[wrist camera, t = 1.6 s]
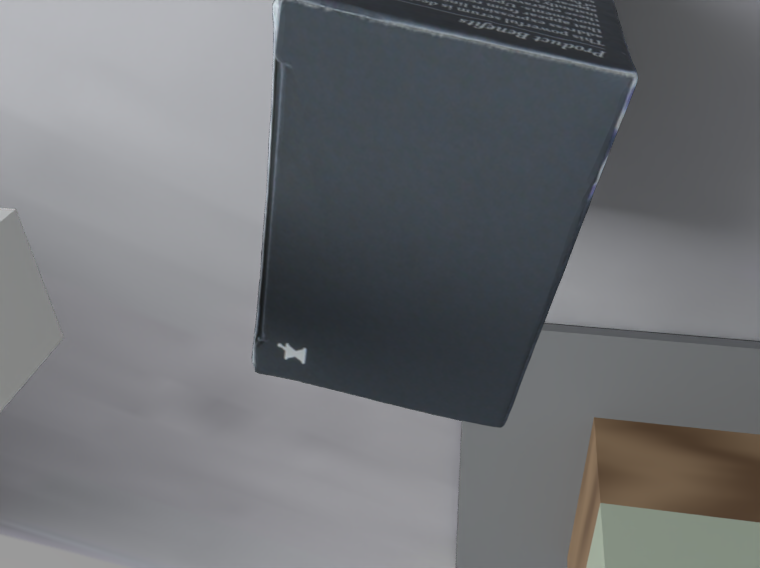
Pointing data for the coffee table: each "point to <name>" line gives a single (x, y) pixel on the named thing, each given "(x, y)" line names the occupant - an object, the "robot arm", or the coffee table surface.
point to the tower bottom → (665, 475)
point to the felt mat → (586, 430)
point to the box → (429, 190)
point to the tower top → (671, 540)
